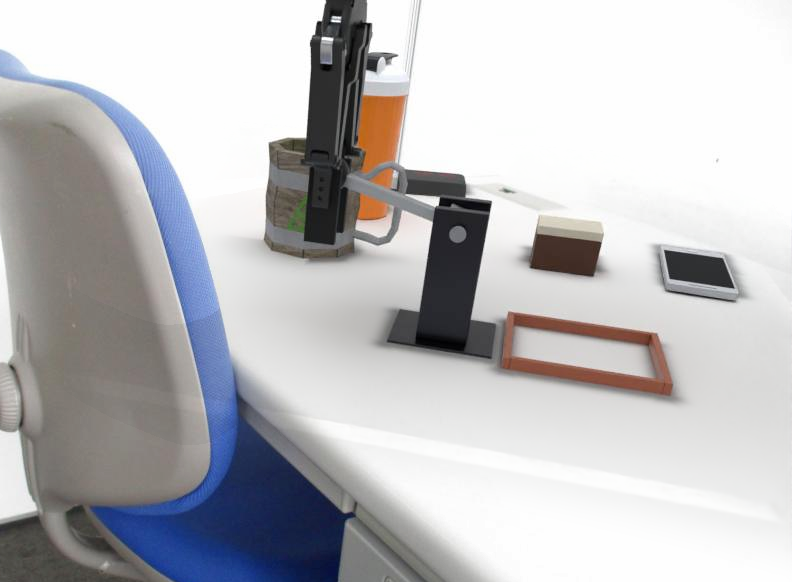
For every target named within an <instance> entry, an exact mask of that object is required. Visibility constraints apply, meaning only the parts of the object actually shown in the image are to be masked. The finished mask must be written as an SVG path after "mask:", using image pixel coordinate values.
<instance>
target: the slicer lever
mask: <svg viewBox="0 0 792 582" xmlns="http://www.w3.org/2000/svg"><path fill="white" fill-rule="evenodd" d="M341 160H342V163H341V166H340V168H343V174H342V184H341V189H342V188H343V187H346V188H349V189H351V190H354V191H356V192H359V193H361V194H364V195H366V196H369V197H371V198H374V199H376V200H379V201H381V202H384V203H386V204H388V206H392V207H393V208H394V207H396V208H399V209H401V210H402V211H404V212H407V213H408V214H409V213H410V214H412V215H414V216H417V217H419V218H422V219H424V220H426V221H429V222H431V223H433V217H434V210H435V207H436V206H434V205H431V204H428V203H426V202H423V201H421V200H418V199H416V198H413V197H410V196H408V195H406V194H405V195H403V194H401V193H398V192H397V191H396V190H394V189H388V188H386V187H383V186H381V185H378V184H376V183H373V182H371V181H368V180H366V179H363V178H361V177H358V176H356V175H353V174H350V173H349V167H348V165H347V163H346V161H345V160H344V159H343V158H341ZM451 207H452V208H460V209H466V208H463V207H461V206H458V205H456V204H453V203H452V205H451Z"/></svg>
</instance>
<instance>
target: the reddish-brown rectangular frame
mask: <svg viewBox="0 0 792 582" xmlns="http://www.w3.org/2000/svg"><path fill="white" fill-rule="evenodd" d="M515 325H516V326H520V327H528V328H535V329H540V330H548V331H554V332H555V331H556V332H562V333H568V334H574V335H575V334H576V335H581V336H588V337H595V338H602V339H608V340H613V341H619V342H620V341H621V342H626V343H627V342H628V343H634V344H640V345H647V346H648V349H649V352H650V356H651V360H652V364H653V367H654V371H655V374H656V375H655V376H656V378H652V377H646V376H641V375H633V374H629V373H622V372H615V371H609V370H602V369H596V368H592V367H591V368H589V367H584V366H577V365H571V364H566V363H565V364H564V363H559V362H552V361H547V360H546V361H545V360H540V359H534V358H527V357H521V356H516V355H512V348H513V338H514V337H513V336H514V326H515ZM500 368H501V369H504V370H509V371H515V372H522V373H528V374H533V375H534V374H535V375H541V376H547V377H553V378H559V379H565V380H571V381H577V382H584V383H590V384H594V385H595V384H596V385H602V386H608V387H613V388H614V387H615V388H620V389H627V390H633V391H639V392H644V393H645V392H646V393H650V394H651V393H652V394H657V395H662V396H671V393H672V390H673V386H674V382H673V379H672V376H671V373H670V370H669V367H668V362H667V360H666V357H665V353H664V350H663V347H662V343H661V340H660V337H659V334H658V332H652V331H651V332H650V331H645V330H644V331H643V330H637V329H631V328H623V327H617V326H610V325H604V324H597V323H590V322H583V321H576V320H571V319H564V318H556V317H548V316H544V315H536V314H530V313H523V312H518V311H517V312H514V311H507V315H506V321H505V328H504V337H503V347H502V357H501V366H500Z"/></svg>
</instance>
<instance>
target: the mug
mask: <svg viewBox="0 0 792 582" xmlns="http://www.w3.org/2000/svg"><path fill="white" fill-rule="evenodd" d="M354 148H361V147H359V146H358V145H356V146H354ZM305 149H306V137H285V138H281V139H277V140H273V141H269V142H268V158H269V163H268V164H269V165H268V177H267V184H266V192H265V223H264V225H265V227H264V235H263V241H264V242H265V244H266V245H267V247H268V248H269V249H270V251H271V252H274V253H279V254H283V255H287V256H292V257H296V258H299V259H338V258H340V257H342V256H344V255H346V254H348V253H353V254H354V253H355V239H356V240H359V241H363V242H365V243H368V244H371V245H374V246H377V247H379V246H383V245H386V244H390V243H391V241H392V240H393V239H394V237H395V235H396V234H397V233H398V231H399V228H400V223H401V219H402V212H403V210H401V209H399V208H396V207H394V206H393V210H392V217H391V224H390V228H389V230H388V231H387V233H386V235H384V236H381V237H377V236H375V235H374V234H371V233H369V232H365V231H361V230H358V229H356V227H357V222H358V219H357V218H358V213H359V209H360V193H359V192H356V191H354V190H351V189H349V191H348V200H347V210H346V219H345V228H344V232H343V233H337V232H336V242H335V244H334V245H327V244H320V243H313V242H306V241H304V229H305V218H306V206H307V194H308V183H309V171H310V167H307V166H301V164H300V160H301V159H302V158H304V154H305ZM361 149H362V148H361ZM365 155H366V151H365V150H364V149H362V152H361V156H360V158H355V157H347V159H352V163H351V172H350V174H353V175H356V176H358V177H361V178H363V179H366V180H368V181H370V180H372V179H374V178H375V177H376V176H377V175H379V174H380V173H381V172H382V171H384V170H387V169H389V168H392V169H393V170H394V172H397V173H399V181H400V186H399V189H398V193H401V194H403V195H406V194H407V193H406V189H407V185H408V183H407V178H406V173H405V169H406V168H405V167H404V166H402V165H400V164H399V163H397V162H396V161H395V162H393V161H388V162H384V163H380V164H378V165H377V166H376V167H375V168H373V169H372V170H371V171H369V172H368V173H362V168H363V164H364V159H365Z"/></svg>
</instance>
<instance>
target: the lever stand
mask: <svg viewBox="0 0 792 582" xmlns="http://www.w3.org/2000/svg"><path fill="white" fill-rule="evenodd" d="M438 199H439V200H438V205H435V206H434V207H435V210H434V217H433V222H432V226H431V232H430V239H429V243H428V252H427V256H426V257H427V258H426V264H425V271H424V278H423V285H422V290H421V298H420V304H419V311H415V310H410V309H404V308H403V309H402V308H399V310H398V313H397V315H396V317H395V319H394V322H393V325H392V328H391V330H390V332H389V334H388V336H387V339H386V343H390V344H395V345H402V346H407V347H413V348H419V349H420V348H421V349H427V350H433V351H439V352H445V353H451V354H458V355H463V356H464V355H465V356H469V357H476V358H483V359H490V360H492V358H493V350H494V342H495V334H496V326H497V323H495V322H488V321H483V320H475V319H472V316H473V310H474V306H475V305H474V304H475V299H476V294H477V288H478V284H479V283H478V282H479V276H480V272H481V266H482V260H483V255H484V250H485V243H486V238H487V234H488V233H487V232H488V227H489V221H490V216H491V210H492V205H493V201H492V200H489V199H480V198H474V197H473V198H472V197H466V196H465V197H457V196H448V195H441V196H439V198H438ZM452 203H453V204H456V205H458V206H461V207H463V208H466V209H460V208H452V207H451V205H452Z"/></svg>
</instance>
